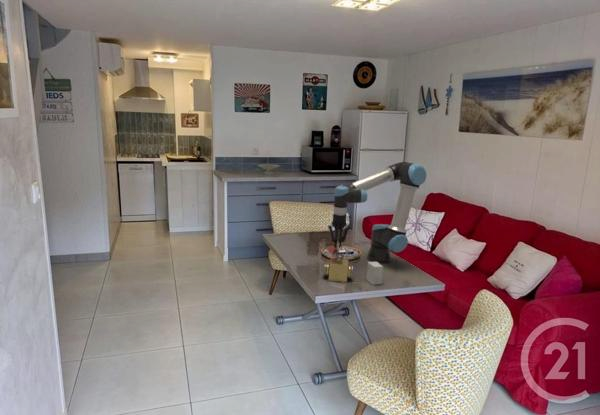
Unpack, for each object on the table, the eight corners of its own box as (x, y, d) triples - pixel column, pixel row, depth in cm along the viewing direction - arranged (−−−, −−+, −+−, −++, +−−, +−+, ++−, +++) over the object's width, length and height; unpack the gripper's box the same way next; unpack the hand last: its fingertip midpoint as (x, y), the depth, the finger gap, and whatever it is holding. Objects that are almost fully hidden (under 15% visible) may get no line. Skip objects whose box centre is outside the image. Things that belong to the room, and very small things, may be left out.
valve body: (350, 276, 236) (351, 257, 234) (350, 282, 227) (352, 263, 225) (325, 274, 237) (327, 255, 235) (324, 280, 228) (326, 260, 226)
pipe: (351, 276, 235) (353, 263, 233) (352, 281, 228) (353, 268, 226) (323, 273, 236) (324, 260, 235) (323, 278, 229) (324, 265, 227)
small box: (381, 284, 228) (383, 266, 225) (372, 285, 226) (374, 266, 224) (374, 278, 235) (376, 261, 233) (365, 279, 233) (367, 261, 231)
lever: (344, 260, 228) (344, 255, 228) (337, 260, 227) (337, 256, 227) (334, 250, 244) (334, 246, 243) (327, 250, 243) (327, 246, 242)
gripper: (348, 212, 239) (345, 250, 245) (327, 211, 237) (324, 250, 243) (352, 215, 232) (349, 255, 238) (330, 215, 230) (327, 255, 236)
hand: (336, 252), depth 240 cm, fingers closed
